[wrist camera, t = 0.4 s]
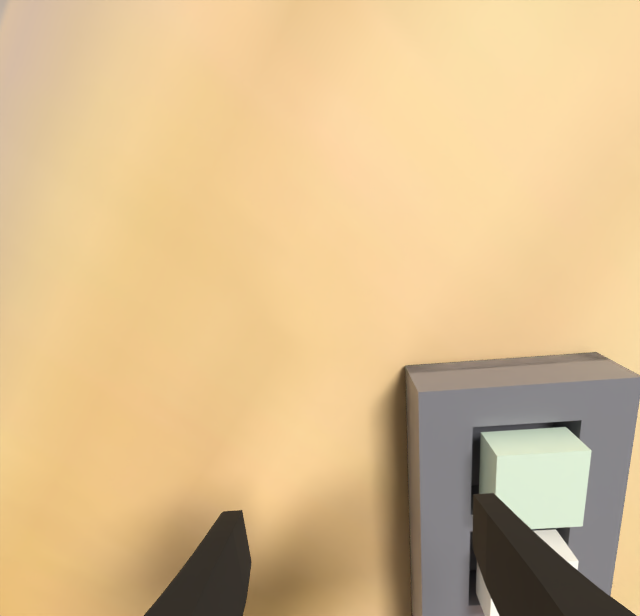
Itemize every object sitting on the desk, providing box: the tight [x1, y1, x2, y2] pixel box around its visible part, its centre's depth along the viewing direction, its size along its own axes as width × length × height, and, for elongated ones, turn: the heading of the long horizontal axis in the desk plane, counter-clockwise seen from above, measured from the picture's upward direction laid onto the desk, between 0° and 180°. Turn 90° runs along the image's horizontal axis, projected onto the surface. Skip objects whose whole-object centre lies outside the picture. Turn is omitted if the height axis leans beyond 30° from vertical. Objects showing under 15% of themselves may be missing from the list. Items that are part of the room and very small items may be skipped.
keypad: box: [405, 352, 640, 616], centre depth 21 cm, size 21×10×3 cm, turn 5°
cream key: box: [476, 529, 579, 616], centre depth 19 cm, size 4×4×2 cm
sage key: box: [479, 427, 592, 529], centre depth 18 cm, size 4×4×2 cm
